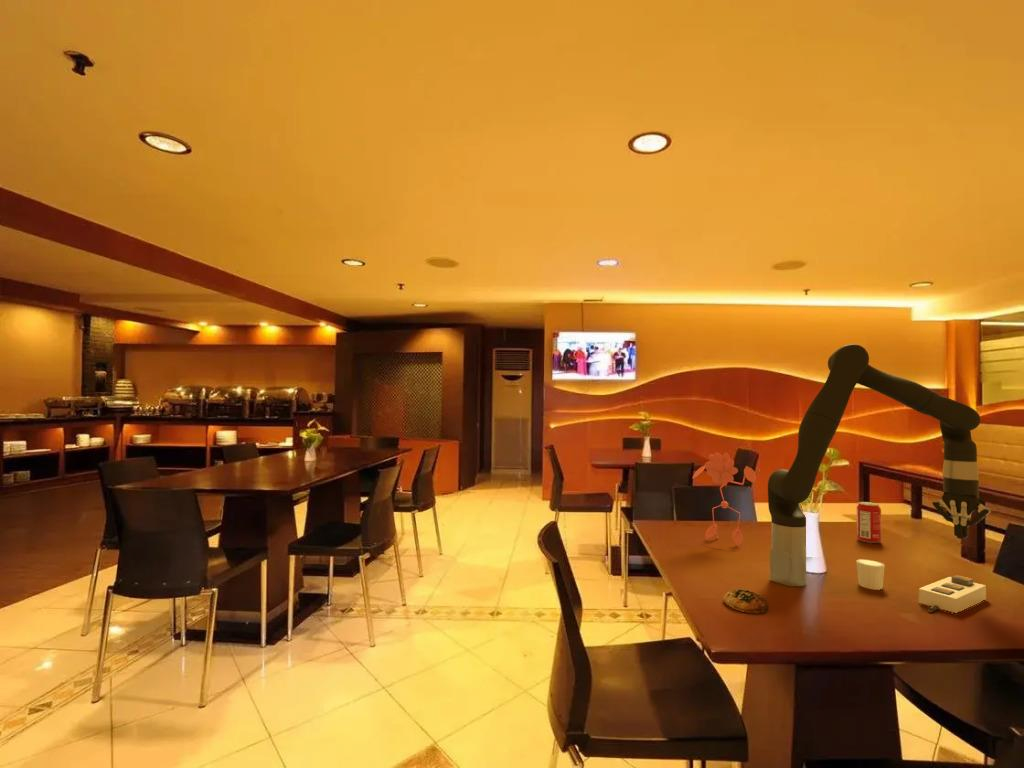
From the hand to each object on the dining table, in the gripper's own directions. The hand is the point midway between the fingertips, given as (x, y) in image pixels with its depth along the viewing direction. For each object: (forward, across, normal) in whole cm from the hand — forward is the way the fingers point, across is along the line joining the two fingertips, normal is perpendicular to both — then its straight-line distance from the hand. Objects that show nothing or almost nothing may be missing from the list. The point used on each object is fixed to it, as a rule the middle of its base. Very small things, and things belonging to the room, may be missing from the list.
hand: (961, 538), depth 142 cm
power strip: (+16, 0, -9) cm, 19 cm away
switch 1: (+15, 0, -13) cm, 20 cm away
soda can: (+17, -42, +41) cm, 61 cm away
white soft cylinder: (+16, -17, -14) cm, 27 cm away
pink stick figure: (+16, -67, -16) cm, 71 cm away
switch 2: (+13, 0, 0) cm, 13 cm away
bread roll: (+17, -26, -60) cm, 68 cm away
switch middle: (+15, 0, -7) cm, 16 cm away
